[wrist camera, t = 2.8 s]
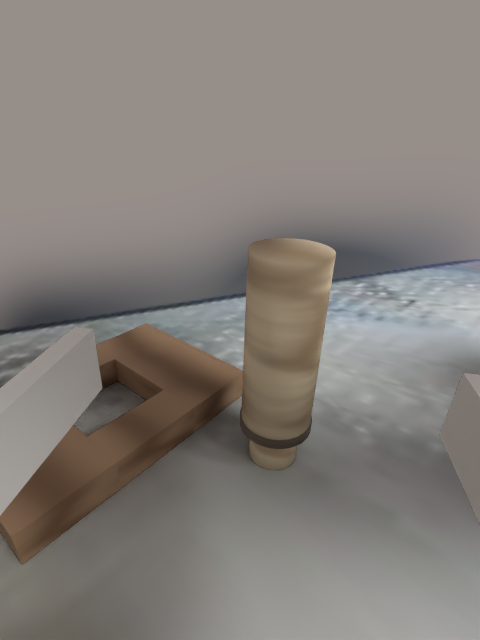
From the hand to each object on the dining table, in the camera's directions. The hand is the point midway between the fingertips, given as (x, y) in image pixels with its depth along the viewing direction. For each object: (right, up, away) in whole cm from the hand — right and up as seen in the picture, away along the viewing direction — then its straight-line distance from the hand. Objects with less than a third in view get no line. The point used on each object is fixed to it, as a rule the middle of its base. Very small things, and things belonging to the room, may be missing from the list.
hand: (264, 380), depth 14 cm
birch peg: (+2, -8, +15) cm, 17 cm away
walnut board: (-12, -6, +18) cm, 23 cm away
